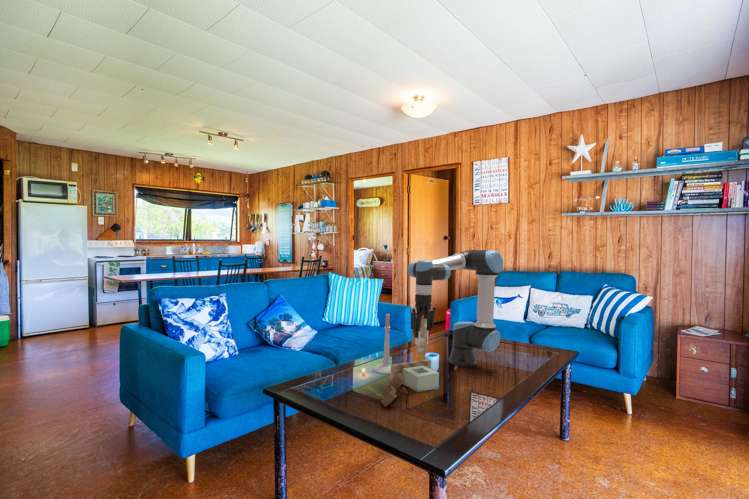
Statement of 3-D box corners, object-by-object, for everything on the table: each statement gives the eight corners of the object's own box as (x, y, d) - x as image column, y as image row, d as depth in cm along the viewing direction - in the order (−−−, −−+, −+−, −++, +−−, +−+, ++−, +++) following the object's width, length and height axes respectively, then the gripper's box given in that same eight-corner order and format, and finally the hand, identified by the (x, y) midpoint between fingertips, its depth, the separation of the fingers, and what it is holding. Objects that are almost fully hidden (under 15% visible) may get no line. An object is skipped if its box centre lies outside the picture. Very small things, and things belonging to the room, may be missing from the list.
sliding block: (422, 379, 189) (423, 365, 189) (438, 388, 179) (439, 372, 179) (402, 383, 183) (402, 368, 183) (417, 392, 173) (417, 376, 173)
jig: (427, 379, 194) (428, 358, 194) (456, 393, 176) (457, 371, 176) (390, 385, 183) (390, 364, 183) (416, 402, 165) (417, 379, 165)
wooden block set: (385, 413, 159) (401, 398, 155) (372, 396, 162) (386, 381, 158) (404, 396, 175) (418, 383, 171) (391, 381, 178) (405, 367, 174)
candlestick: (398, 367, 211) (400, 311, 210) (397, 375, 198) (399, 316, 198) (374, 365, 212) (376, 310, 212) (372, 373, 199) (374, 314, 199)
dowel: (422, 351, 183) (423, 317, 183) (427, 353, 180) (428, 319, 180) (415, 352, 181) (416, 318, 181) (420, 354, 178) (421, 319, 178)
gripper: (432, 292, 188) (431, 340, 188) (403, 293, 179) (401, 344, 180) (443, 294, 181) (441, 344, 182) (413, 295, 173) (411, 348, 173)
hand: (421, 344), depth 181 cm, fingers closed on dowel, 4 cm apart
